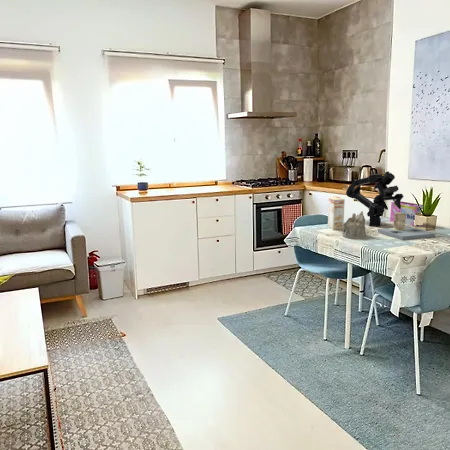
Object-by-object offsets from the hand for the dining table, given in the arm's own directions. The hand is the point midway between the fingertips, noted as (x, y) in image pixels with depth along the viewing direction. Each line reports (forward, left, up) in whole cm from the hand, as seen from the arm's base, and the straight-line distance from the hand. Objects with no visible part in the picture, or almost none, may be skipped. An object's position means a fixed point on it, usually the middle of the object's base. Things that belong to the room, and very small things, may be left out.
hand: (394, 209), depth 261 cm
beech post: (+4, -5, -12) cm, 13 cm away
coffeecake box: (-35, -1, -14) cm, 37 cm away
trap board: (+7, -10, -14) cm, 18 cm away
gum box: (+7, +28, -14) cm, 32 cm away
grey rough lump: (-22, -21, -14) cm, 34 cm away
